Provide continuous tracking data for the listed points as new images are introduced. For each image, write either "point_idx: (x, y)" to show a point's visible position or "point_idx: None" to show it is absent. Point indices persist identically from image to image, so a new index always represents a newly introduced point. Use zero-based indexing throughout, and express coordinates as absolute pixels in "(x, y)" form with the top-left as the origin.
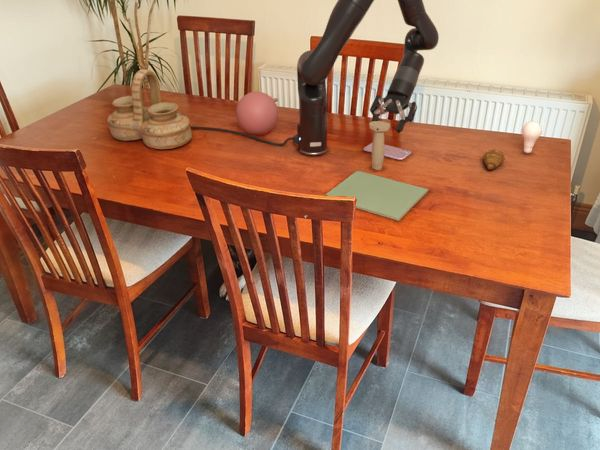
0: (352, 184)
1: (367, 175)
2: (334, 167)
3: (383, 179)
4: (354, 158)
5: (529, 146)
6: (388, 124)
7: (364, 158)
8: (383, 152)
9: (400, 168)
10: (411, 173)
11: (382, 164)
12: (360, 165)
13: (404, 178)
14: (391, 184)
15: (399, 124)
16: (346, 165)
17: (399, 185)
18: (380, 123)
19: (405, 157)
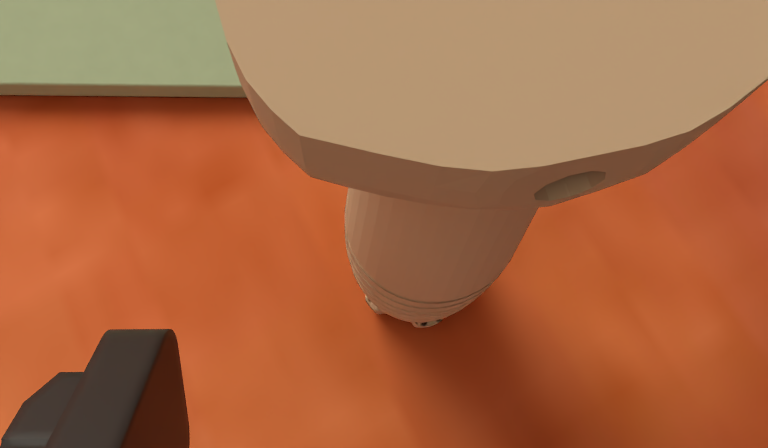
0: None
1: None
2: (763, 92)
3: (225, 49)
4: (748, 376)
5: None
6: (289, 46)
7: (662, 438)
8: (345, 208)
9: (195, 417)
10: (41, 365)
11: (371, 304)
12: (593, 255)
13: (72, 221)
14: (119, 2)
15: (65, 440)
16: (703, 184)
17: (44, 17)
18: (538, 9)
19: None
